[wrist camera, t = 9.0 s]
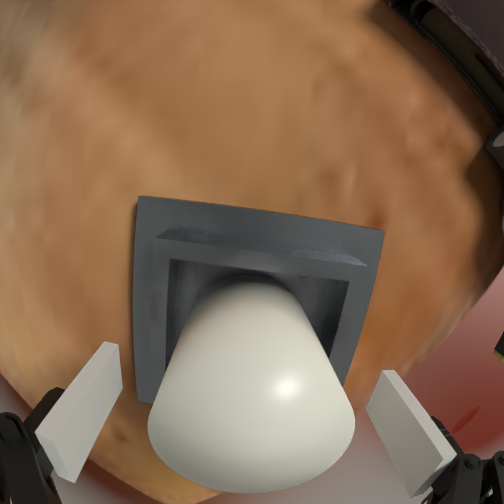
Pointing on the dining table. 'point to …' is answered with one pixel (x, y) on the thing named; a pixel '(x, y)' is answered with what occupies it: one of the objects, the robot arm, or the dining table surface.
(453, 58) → the diary
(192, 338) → the plug
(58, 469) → the robot arm
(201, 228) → the grey square tray
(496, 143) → the film camera
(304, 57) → the dining table surface
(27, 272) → the dining table surface
